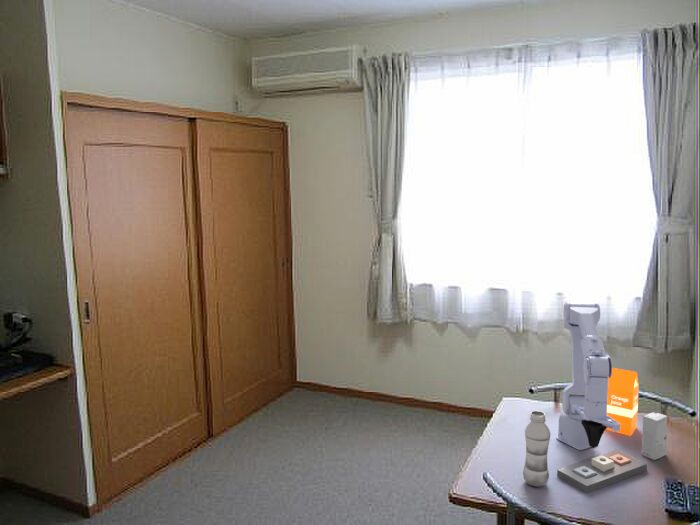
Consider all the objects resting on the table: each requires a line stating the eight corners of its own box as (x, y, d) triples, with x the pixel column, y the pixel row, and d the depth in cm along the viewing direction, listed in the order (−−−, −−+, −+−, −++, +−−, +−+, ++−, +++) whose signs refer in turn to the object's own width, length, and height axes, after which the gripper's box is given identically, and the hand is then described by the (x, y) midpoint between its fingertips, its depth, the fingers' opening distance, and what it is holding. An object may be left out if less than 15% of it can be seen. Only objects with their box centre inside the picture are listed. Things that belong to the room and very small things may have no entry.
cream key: (591, 465, 162) (591, 458, 162) (601, 461, 164) (601, 454, 163) (603, 471, 158) (603, 464, 158) (613, 467, 160) (613, 460, 160)
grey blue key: (573, 476, 159) (573, 468, 159) (583, 472, 161) (584, 465, 160) (585, 482, 155) (585, 475, 155) (595, 479, 157) (596, 471, 157)
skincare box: (655, 460, 168) (657, 421, 166) (640, 454, 171) (642, 416, 170) (666, 454, 171) (669, 415, 169) (651, 449, 175) (653, 411, 173)
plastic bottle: (528, 474, 161) (530, 406, 158) (552, 482, 157) (554, 412, 154) (518, 484, 156) (520, 414, 153) (543, 492, 152) (545, 420, 149)
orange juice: (608, 420, 195) (611, 363, 192) (636, 427, 190) (640, 368, 187) (601, 428, 189) (604, 370, 186) (631, 436, 184) (634, 375, 181)
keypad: (557, 476, 160) (557, 469, 160) (615, 455, 171) (616, 449, 171) (586, 493, 151) (586, 486, 151) (646, 470, 162) (647, 463, 162)
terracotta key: (608, 463, 165) (608, 456, 165) (617, 460, 167) (618, 453, 167) (620, 469, 162) (620, 462, 161) (630, 466, 164) (630, 459, 163)
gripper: (564, 393, 162) (562, 438, 164) (608, 411, 149) (605, 460, 151) (582, 388, 165) (580, 433, 167) (626, 406, 152) (624, 454, 154)
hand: (593, 445), depth 159 cm, fingers closed
